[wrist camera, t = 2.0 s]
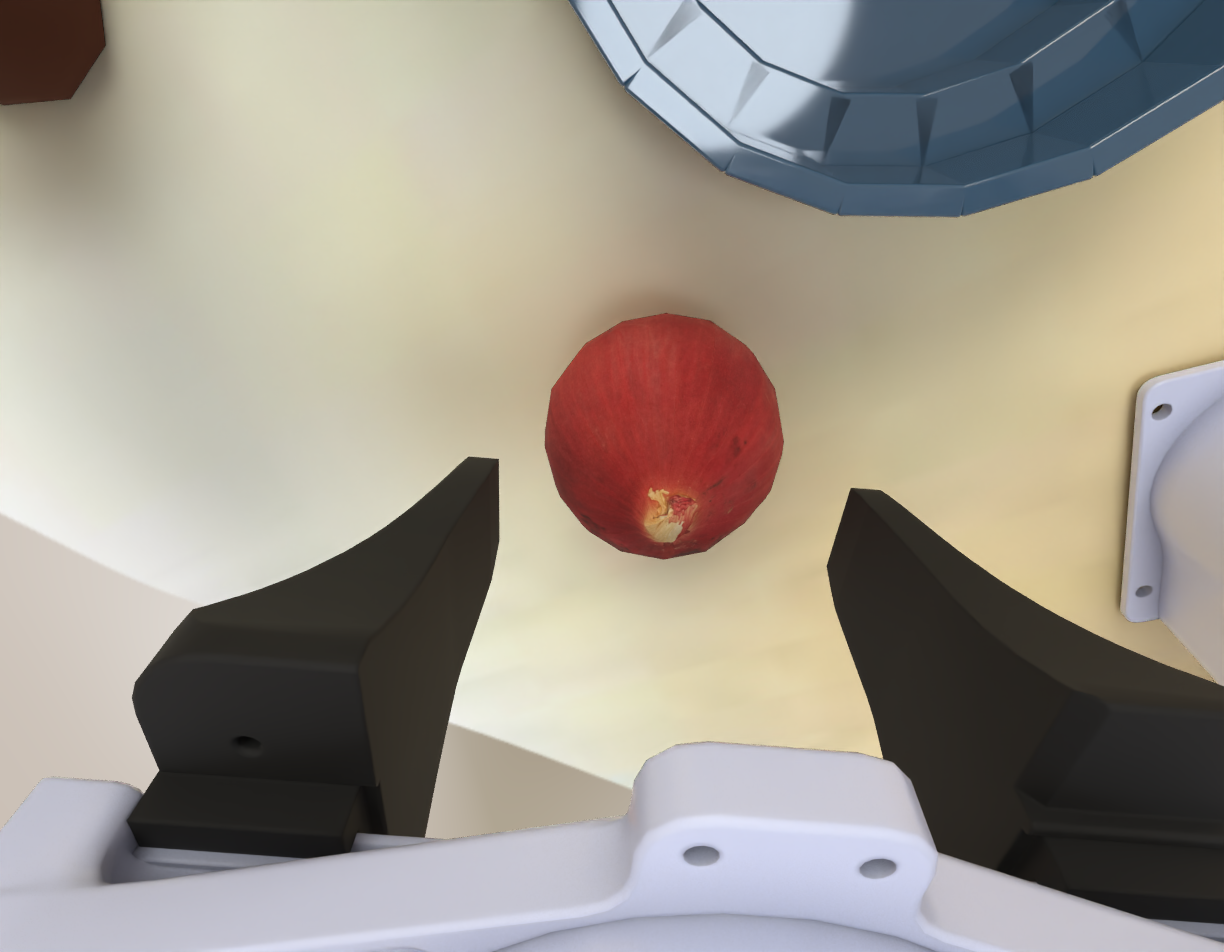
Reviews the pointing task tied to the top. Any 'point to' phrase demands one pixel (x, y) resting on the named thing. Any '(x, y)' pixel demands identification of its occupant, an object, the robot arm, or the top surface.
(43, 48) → the ice cream bowl
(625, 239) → the top surface
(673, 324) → the pomegranate
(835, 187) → the bowl
